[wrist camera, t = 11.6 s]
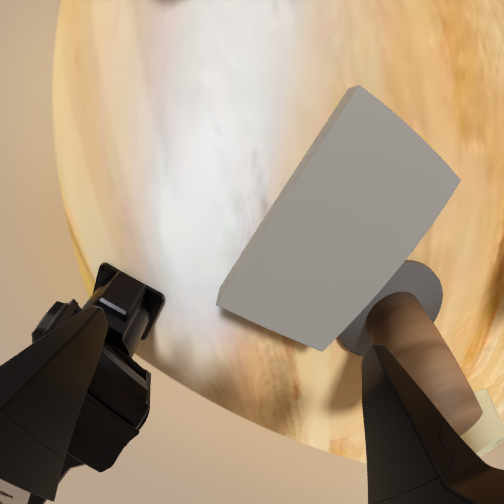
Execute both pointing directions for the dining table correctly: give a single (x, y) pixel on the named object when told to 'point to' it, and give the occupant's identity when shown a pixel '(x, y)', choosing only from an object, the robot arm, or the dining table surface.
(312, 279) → the grey slab
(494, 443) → the can
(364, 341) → the dark grey flat disc
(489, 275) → the dining table surface
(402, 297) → the walnut roller
